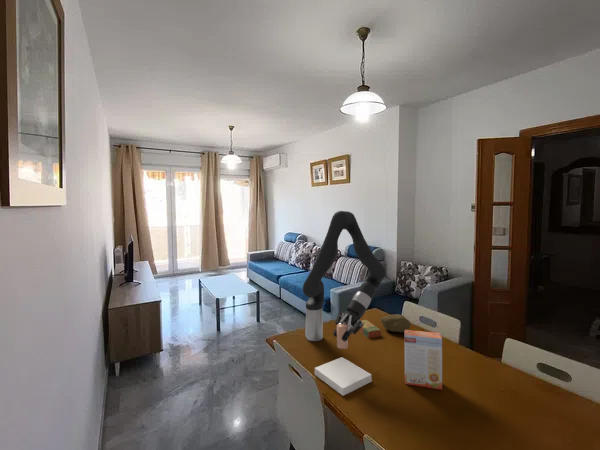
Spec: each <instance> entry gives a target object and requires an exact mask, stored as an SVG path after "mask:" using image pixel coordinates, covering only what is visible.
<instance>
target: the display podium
mask: <svg viewBox="0 0 600 450" xmlns="http://www.w3.org/2000/svg"><path fill="white" fill-rule="evenodd" d="M314 375H315V377H317V378H318V379H320V380H321V381H322V382H323V383H325V384H327V385H328V386H329V387H330V388H332V389H333V390H335V391H336V393H338V394H340V395H341V396H345V395H348V394H351V393H352V392H354V391H356V390H358V389H360V388H362V387H364V386H365V385H367V384H370V383H372V379H373V378H372V376H373V375H372V374H371V373H369V372H368V371H367V370H364V369H363V368H362V367H359V366H358V365H356V364H355V363H353V362H351V361H350V360H348V359H346V358H344V357H343V356H341V357H339V358H336V359H334V360H331V361H329V362H326V363H323V364H321V365H319V366H315V367H314Z"/></svg>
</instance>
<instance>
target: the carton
mask: <svg viewBox="0 0 600 450" xmlns="http://www.w3.org/2000/svg"><path fill="white" fill-rule="evenodd" d="M360 320H361V319H360ZM361 321H362V322H363V324H364V325H363V326H362V327H361V329H360V330H359V331H358V332H360V333H361V334H362V335H363V336H364V337H365V338H367V339H374V338H379V337H382V331H381V329H380V328H378V327H377V326H376V325H374V324H373V323H372V322H370V321H369V320H368V319H364V320H363V319H362V320H361Z"/></svg>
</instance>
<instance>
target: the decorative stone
mask: <svg viewBox="0 0 600 450" xmlns="http://www.w3.org/2000/svg"><path fill="white" fill-rule="evenodd" d="M380 322H381V323H382V326H383V327H384V328H385V329H387V330H388V331H390V332H394V333H405V330H410V328H411V326H412V325H411V321H410V320H409V319H408V318H406V316H404V315H402V314H399V313H397V314H389V315H386V316H383V317H382V318H381V319H380Z"/></svg>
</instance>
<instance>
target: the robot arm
mask: <svg viewBox="0 0 600 450" xmlns="http://www.w3.org/2000/svg"><path fill="white" fill-rule="evenodd" d="M343 230H346V231H347V233H348V234H349V235H350V237H351V239H352V243H353V245H352V246H353V250H354V253H355V254H356V256H357V258H358V259H359V261H360V263H361V264H362V265H363V266H365V267H366V268H367V270H368V271H369V272H368V274H367V276H366V277H365V279H364V281H363V282H362V283H361V285H360V286H359V288H358V290H357V291H356V293H354V295H353V297H352V299H351V300H350V301H349V303H348V305H347V306H346V310H345V312H341V311H339V312H338V313H337V316H336V318H335V321H334V324H335V326H336V328H335V329H334V331H333V334H332V335H333V336H334V337H335V338H337V324H340V323H343V324H347V325H348V327H347V331H346V332H345V333H344V335H343V336H342V340H343V341H346V340H347V339H348V340H349V337H350V336H351V335H352V334H353V335H356V334H357V333H358V332H360V331H359V330H360V329H361V327H362V326H363V325H364V324H363V322H362V321H361V319H362V318H363V316H364V315H365V313H366V311H367V309H368V308H369V306H370V304H371V301H372V300H373V297H375V294H376V293H377V290H378V289H379V287H380V285H381V283H382V282H383V280H384V279H385V278H386V275H387V271H386V268H385V266H384V264H383V263H382V262H381V261H380V260H379V259H378V258H377V257H376V256H375V254H374V253H373V250H372V249H371V248H370V246H369V244H368V242H367V241H366V239H365V238H364V235H363V232H362V230H361V228H360V226H359V223H358V220H357V218H356V216H355V214H354V213H353V212H351V211H346V210H337V211H336V212H334V214H333V216H332V217H331V221H330V223H329V226H328V229H327V233H326V236H325V238H324V240H323V243H322V244H321V247H320V249H319V252H318V253H317V256H316V258H315V261H314V263H313V265H312V268H311V270H310V272H309V274H308V276H307V277H306V279H305V281H304V283H303V285H302V293H303V294H304V296H305V297H306V298H308V299H307V301H306V303H305V320H304V322H305V324H304V325H305V326H304V330H305V331H304V334H305V338H306V340H308V341H311V342H320V341H322V340H323V337H324V336H323V335H324V334H323V333H324V332H323V329H324V328H323V326H324V325H323V304H324V301H325V285H324V283H323V280H322V279H323V277H324V276H325V275H326V273H327V272H328V271H329V270H330V268H332V266H333V265H334V263H335V260H336V258H337V256H338V252H339V249H338V248H339V244H338V243H339V237H340V236H341V234H342V232H343Z"/></svg>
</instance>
